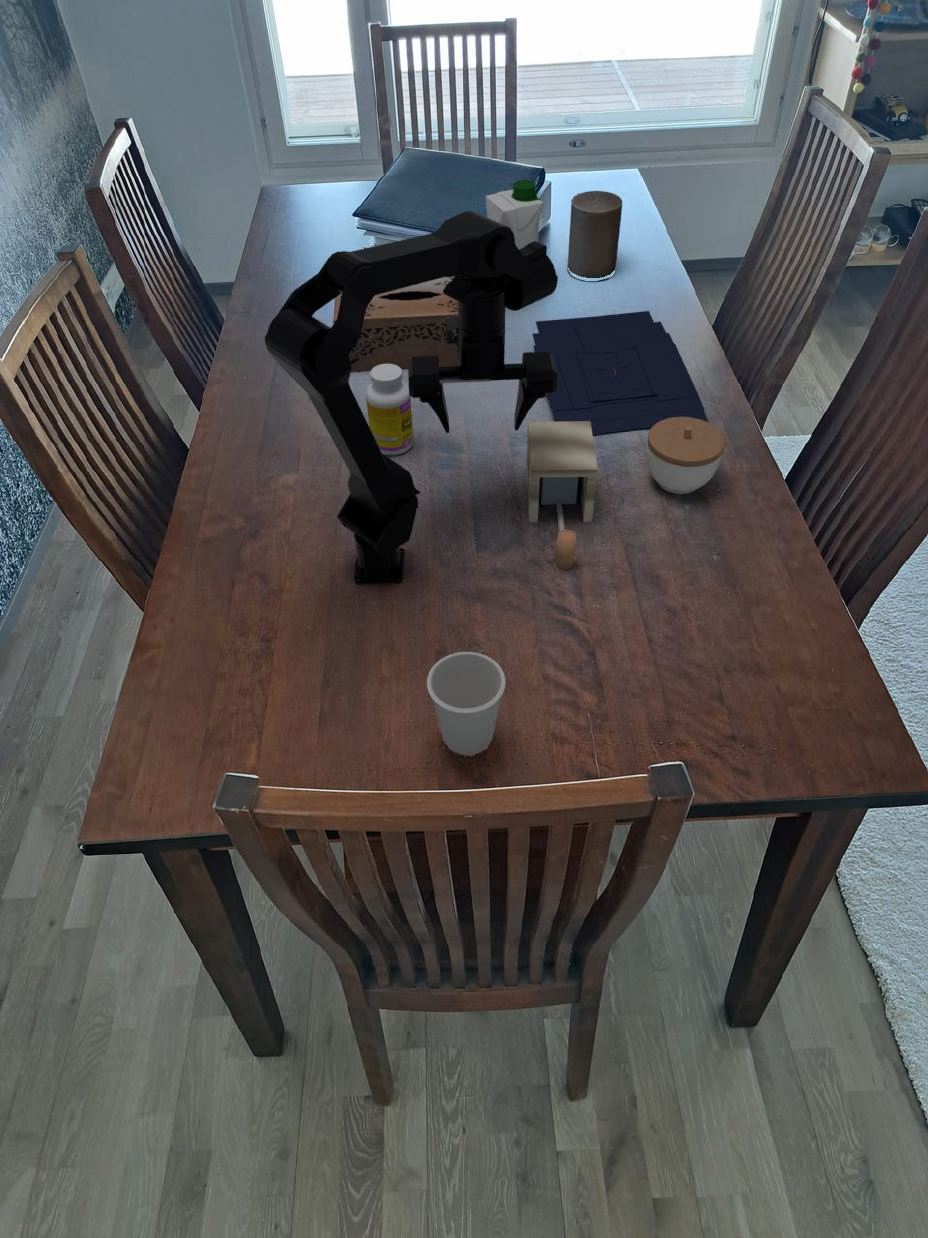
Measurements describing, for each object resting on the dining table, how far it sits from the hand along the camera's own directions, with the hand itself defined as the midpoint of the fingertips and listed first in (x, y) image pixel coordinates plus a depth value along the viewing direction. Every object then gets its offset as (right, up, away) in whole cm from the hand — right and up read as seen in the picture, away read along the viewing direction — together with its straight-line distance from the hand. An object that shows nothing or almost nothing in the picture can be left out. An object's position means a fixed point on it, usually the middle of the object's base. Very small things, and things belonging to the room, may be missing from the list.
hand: (481, 429), depth 122 cm
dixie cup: (-2, -39, -18) cm, 43 cm away
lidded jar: (+29, -5, +13) cm, 32 cm away
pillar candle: (+23, +44, +59) cm, 77 cm away
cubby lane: (+11, -8, +10) cm, 17 cm away
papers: (+23, +14, +31) cm, 41 cm away
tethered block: (+11, -12, +6) cm, 18 cm away
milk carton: (+7, +37, +53) cm, 65 cm away
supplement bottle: (-14, +2, +20) cm, 24 cm away
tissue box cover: (-11, +23, +40) cm, 48 cm away
